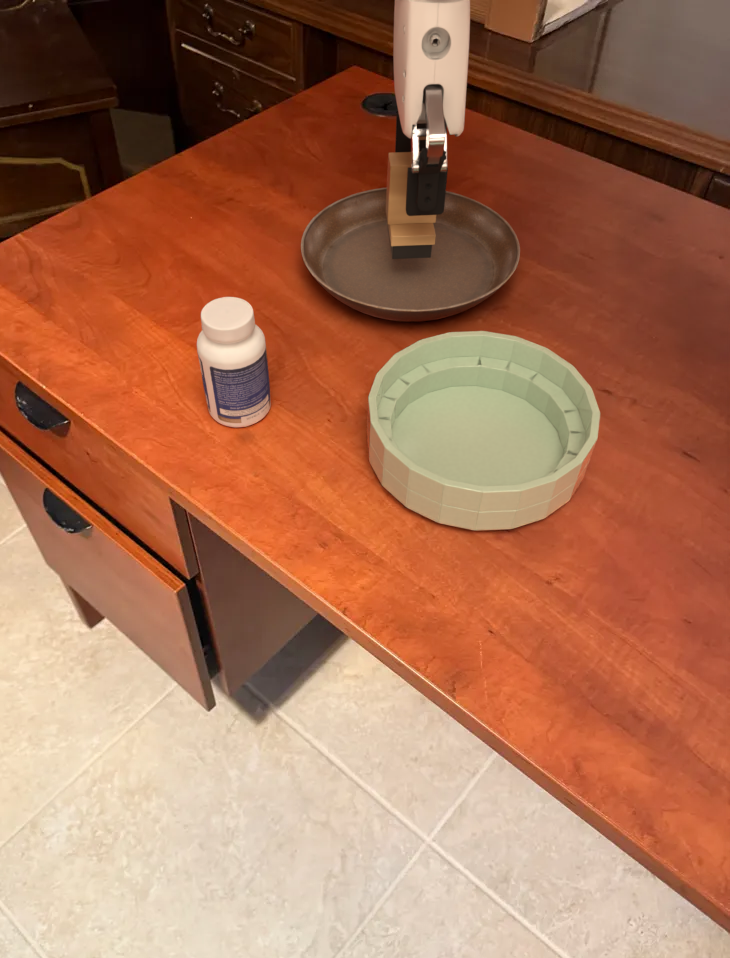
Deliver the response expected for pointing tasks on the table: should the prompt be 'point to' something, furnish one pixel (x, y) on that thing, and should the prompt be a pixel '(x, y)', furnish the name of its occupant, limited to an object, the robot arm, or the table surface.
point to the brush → (405, 214)
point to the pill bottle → (233, 363)
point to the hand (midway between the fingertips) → (418, 183)
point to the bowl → (480, 429)
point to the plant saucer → (416, 279)
